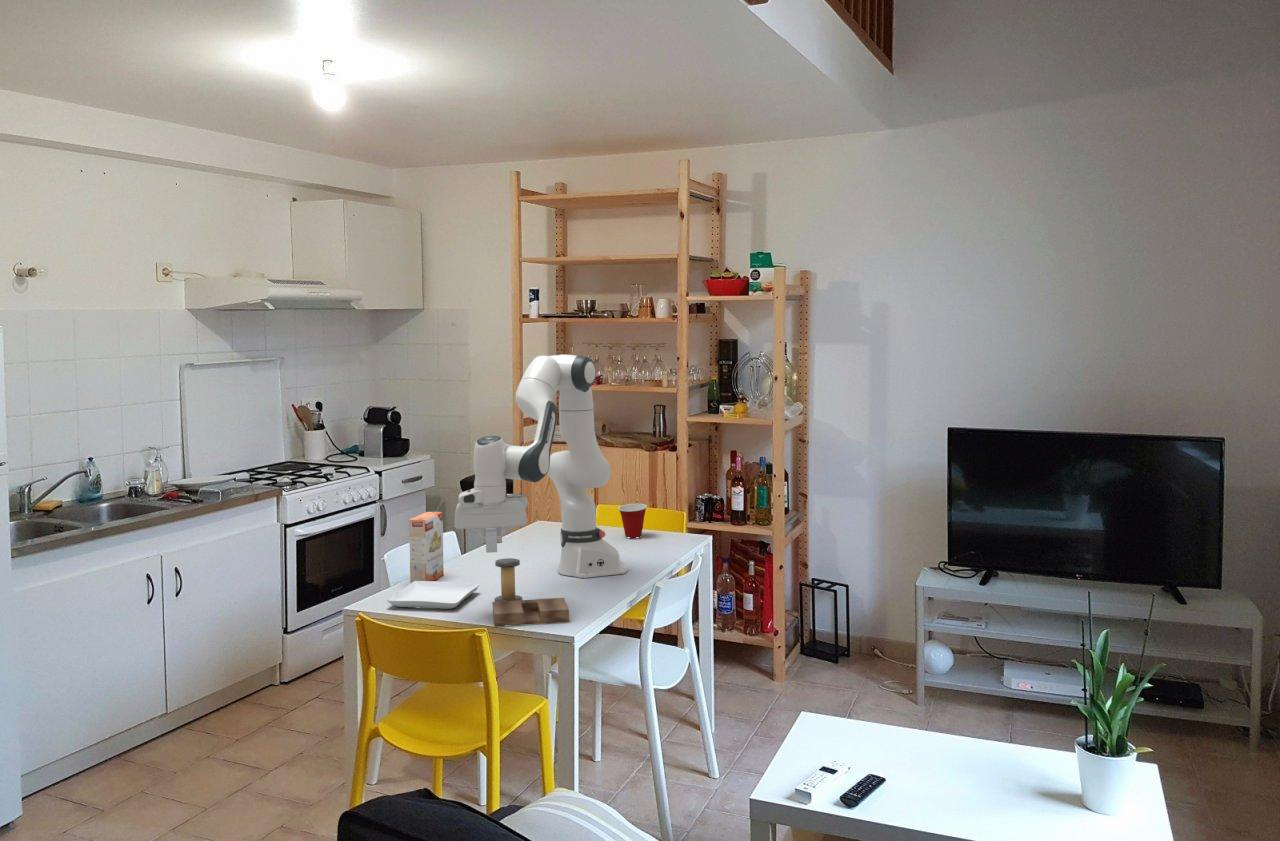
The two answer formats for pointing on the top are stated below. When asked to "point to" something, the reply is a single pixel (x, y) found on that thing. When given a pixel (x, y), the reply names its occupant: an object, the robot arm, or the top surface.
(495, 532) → the steel tab
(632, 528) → the plastic cup
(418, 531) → the cracker box
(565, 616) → the notched board
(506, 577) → the bobbin
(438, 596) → the salad plate
